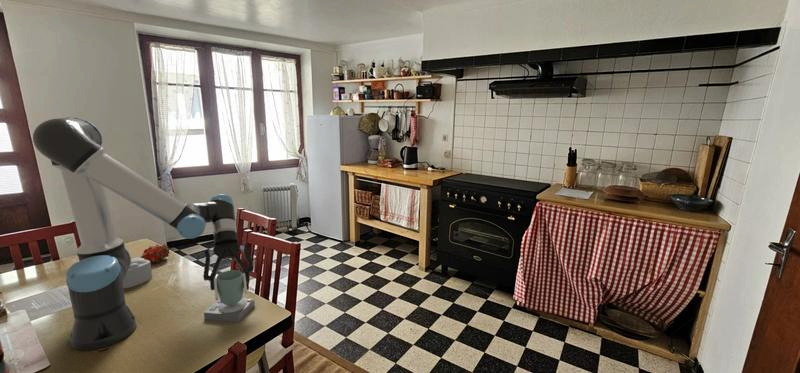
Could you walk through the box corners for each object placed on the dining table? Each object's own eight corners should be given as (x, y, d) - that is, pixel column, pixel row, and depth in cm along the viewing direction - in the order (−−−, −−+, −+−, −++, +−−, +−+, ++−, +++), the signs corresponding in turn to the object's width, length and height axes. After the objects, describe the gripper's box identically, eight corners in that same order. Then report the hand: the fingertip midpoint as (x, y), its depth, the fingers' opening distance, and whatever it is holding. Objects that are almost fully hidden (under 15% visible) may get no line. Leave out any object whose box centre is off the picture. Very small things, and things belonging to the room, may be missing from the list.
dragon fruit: (173, 260, 158) (144, 273, 148) (164, 247, 160) (134, 259, 150) (174, 250, 153) (144, 262, 143) (164, 237, 155) (134, 248, 145)
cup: (227, 311, 110) (225, 283, 108) (214, 303, 114) (211, 276, 112) (249, 300, 116) (247, 273, 114) (235, 293, 120) (233, 267, 118)
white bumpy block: (155, 278, 138) (152, 258, 136) (117, 292, 127) (114, 271, 125) (141, 272, 142) (139, 253, 141) (104, 285, 131) (100, 265, 129)
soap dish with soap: (238, 322, 110) (238, 314, 110) (204, 319, 111) (203, 311, 111) (254, 305, 120) (254, 298, 119) (222, 302, 121) (222, 295, 121)
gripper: (255, 234, 129) (264, 291, 119) (192, 243, 119) (196, 306, 109) (256, 225, 124) (265, 284, 113) (190, 233, 114) (193, 300, 103)
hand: (231, 295), depth 111 cm, fingers closed on cup, 8 cm apart
